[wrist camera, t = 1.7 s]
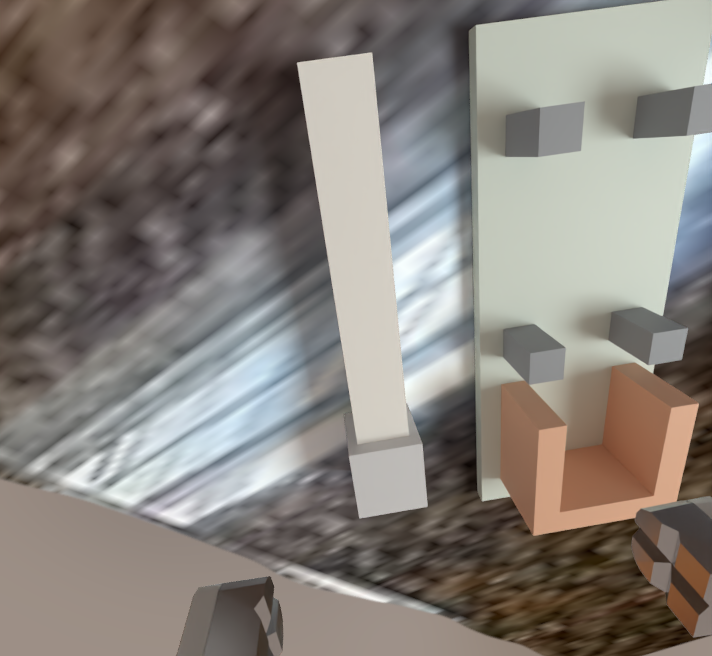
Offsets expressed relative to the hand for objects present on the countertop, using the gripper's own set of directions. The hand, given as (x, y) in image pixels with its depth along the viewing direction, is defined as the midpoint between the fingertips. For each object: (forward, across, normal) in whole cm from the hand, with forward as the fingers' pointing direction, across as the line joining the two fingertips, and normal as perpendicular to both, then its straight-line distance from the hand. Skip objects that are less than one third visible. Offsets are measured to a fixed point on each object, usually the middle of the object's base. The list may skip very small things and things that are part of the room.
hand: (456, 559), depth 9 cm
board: (+18, -13, +2) cm, 22 cm away
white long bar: (+18, 0, 0) cm, 18 cm away
